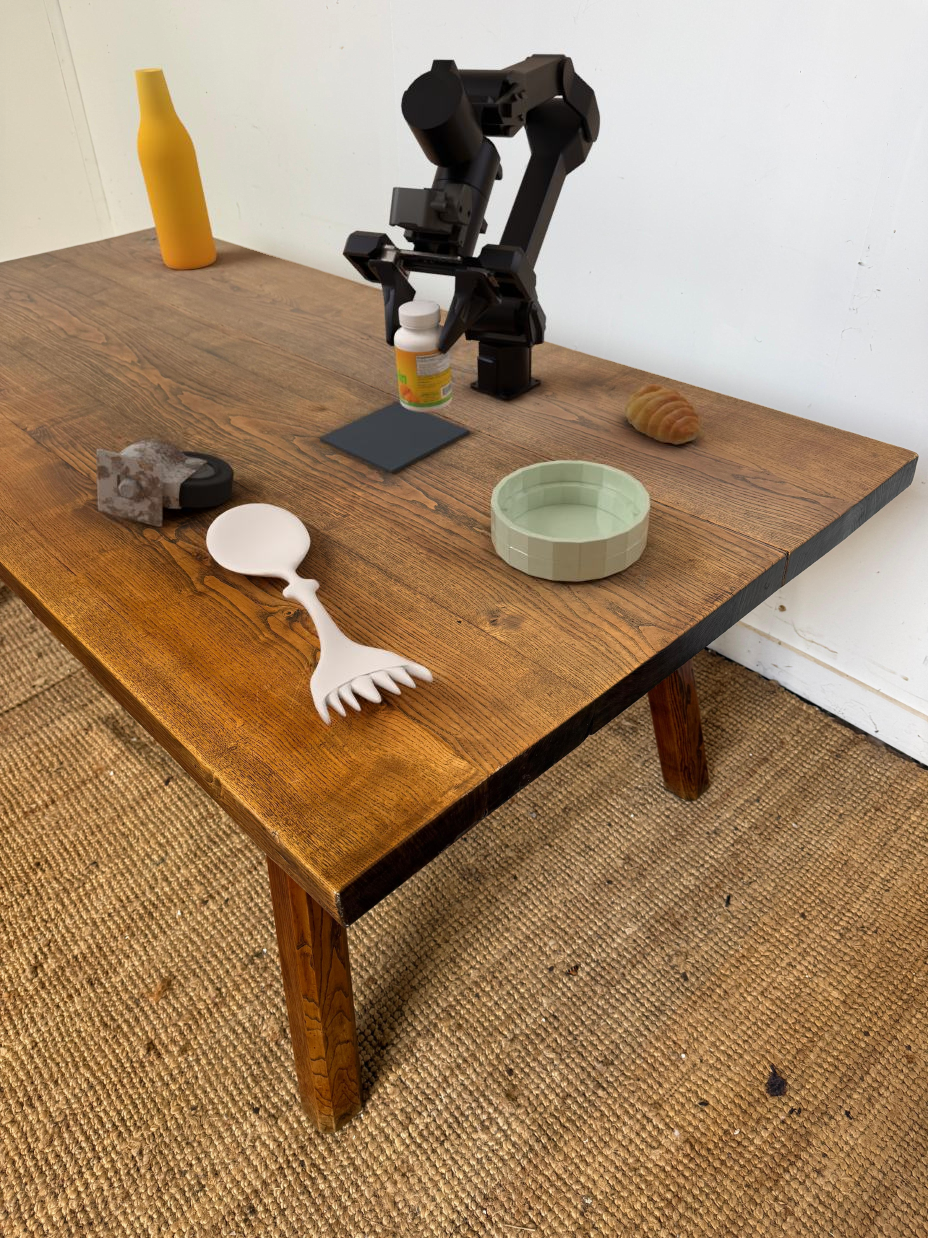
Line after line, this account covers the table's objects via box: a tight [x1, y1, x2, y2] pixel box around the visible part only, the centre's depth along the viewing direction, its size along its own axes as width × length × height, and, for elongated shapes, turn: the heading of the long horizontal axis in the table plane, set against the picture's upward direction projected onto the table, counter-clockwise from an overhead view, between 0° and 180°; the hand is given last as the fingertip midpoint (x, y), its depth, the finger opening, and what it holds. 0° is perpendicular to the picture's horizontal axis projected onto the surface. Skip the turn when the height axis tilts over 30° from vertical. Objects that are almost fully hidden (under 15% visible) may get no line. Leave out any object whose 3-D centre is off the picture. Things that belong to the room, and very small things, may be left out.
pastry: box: [624, 383, 703, 445], centre depth 98 cm, size 9×7×4 cm
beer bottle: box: [134, 67, 217, 271], centre depth 146 cm, size 9×9×29 cm
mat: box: [319, 401, 470, 474], centre depth 100 cm, size 12×12×1 cm
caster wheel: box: [96, 438, 235, 528], centre depth 89 cm, size 7×11×10 cm
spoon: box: [205, 503, 434, 726], centre depth 74 cm, size 9×32×4 cm, turn 30°
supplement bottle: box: [394, 299, 453, 413], centre depth 87 cm, size 5×5×10 cm
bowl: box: [490, 459, 651, 582], centre depth 81 cm, size 14×14×4 cm
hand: (415, 348), depth 85 cm, fingers closed on supplement bottle, 5 cm apart
